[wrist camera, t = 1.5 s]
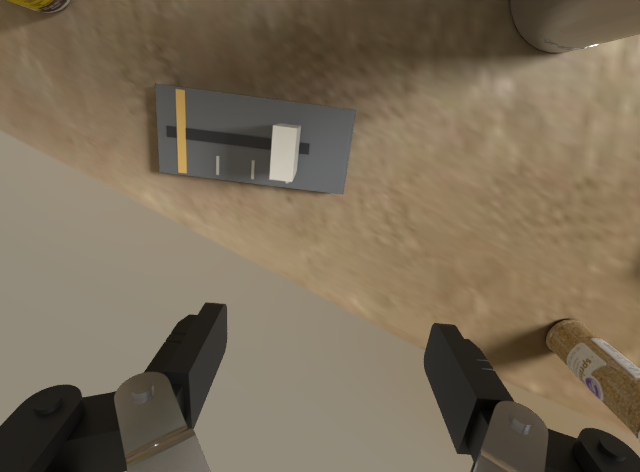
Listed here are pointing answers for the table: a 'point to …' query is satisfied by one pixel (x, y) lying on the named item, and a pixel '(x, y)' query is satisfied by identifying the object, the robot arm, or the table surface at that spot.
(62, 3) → the supplement bottle
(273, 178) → the block
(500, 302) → the table surface
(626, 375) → the sprinkles bottle
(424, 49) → the table surface
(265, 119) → the console
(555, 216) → the table surface
